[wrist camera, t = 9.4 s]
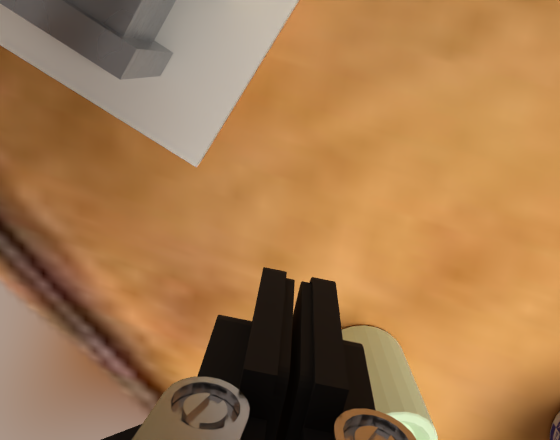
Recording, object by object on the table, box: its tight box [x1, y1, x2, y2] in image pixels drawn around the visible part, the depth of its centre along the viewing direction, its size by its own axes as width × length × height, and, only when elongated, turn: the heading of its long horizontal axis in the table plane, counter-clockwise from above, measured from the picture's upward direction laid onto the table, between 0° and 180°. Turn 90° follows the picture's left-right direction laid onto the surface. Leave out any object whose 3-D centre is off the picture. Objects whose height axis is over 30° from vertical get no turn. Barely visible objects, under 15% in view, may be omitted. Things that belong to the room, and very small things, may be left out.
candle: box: [342, 325, 438, 440], centre depth 25 cm, size 5×5×8 cm
